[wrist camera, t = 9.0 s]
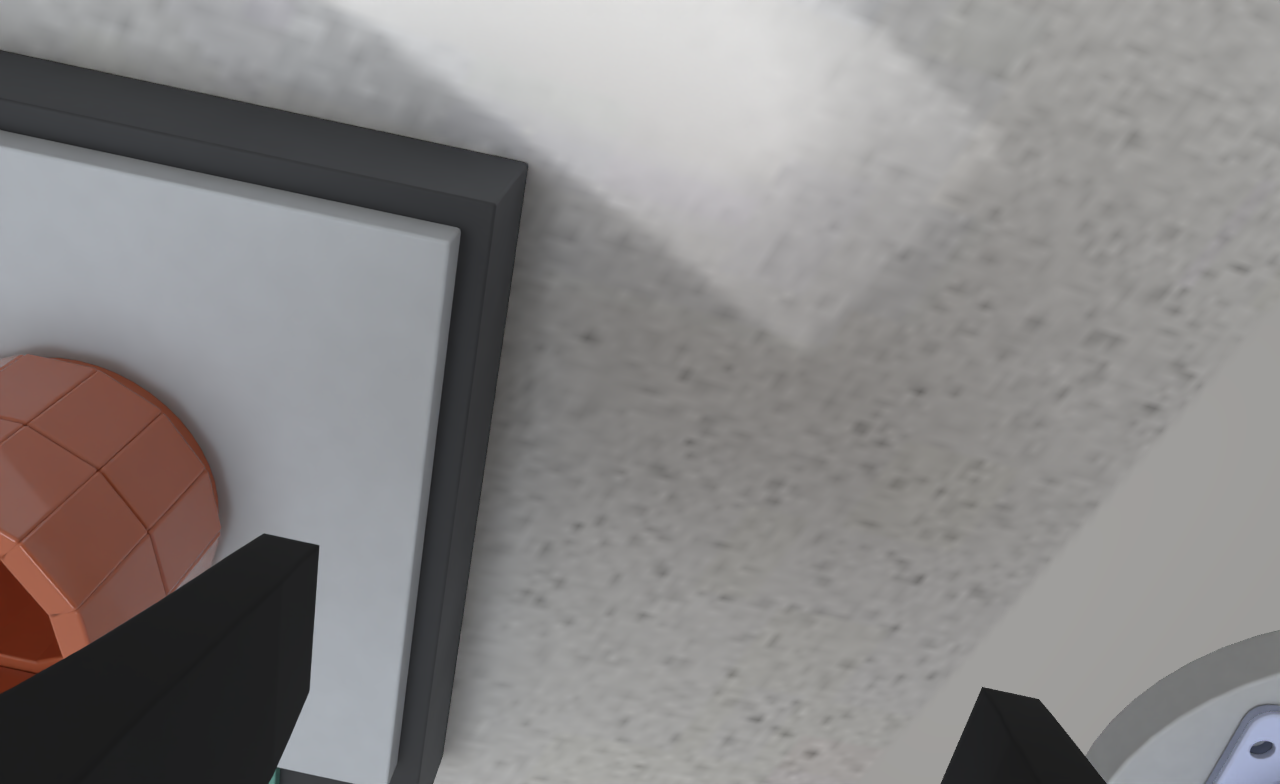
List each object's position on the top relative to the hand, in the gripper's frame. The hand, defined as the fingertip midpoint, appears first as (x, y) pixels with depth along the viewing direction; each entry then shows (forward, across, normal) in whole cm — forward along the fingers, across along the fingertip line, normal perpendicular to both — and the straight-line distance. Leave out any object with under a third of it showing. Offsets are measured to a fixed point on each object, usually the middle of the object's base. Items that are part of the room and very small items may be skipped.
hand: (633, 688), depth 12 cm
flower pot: (+7, +10, +4) cm, 13 cm away
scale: (+10, +10, +4) cm, 15 cm away
